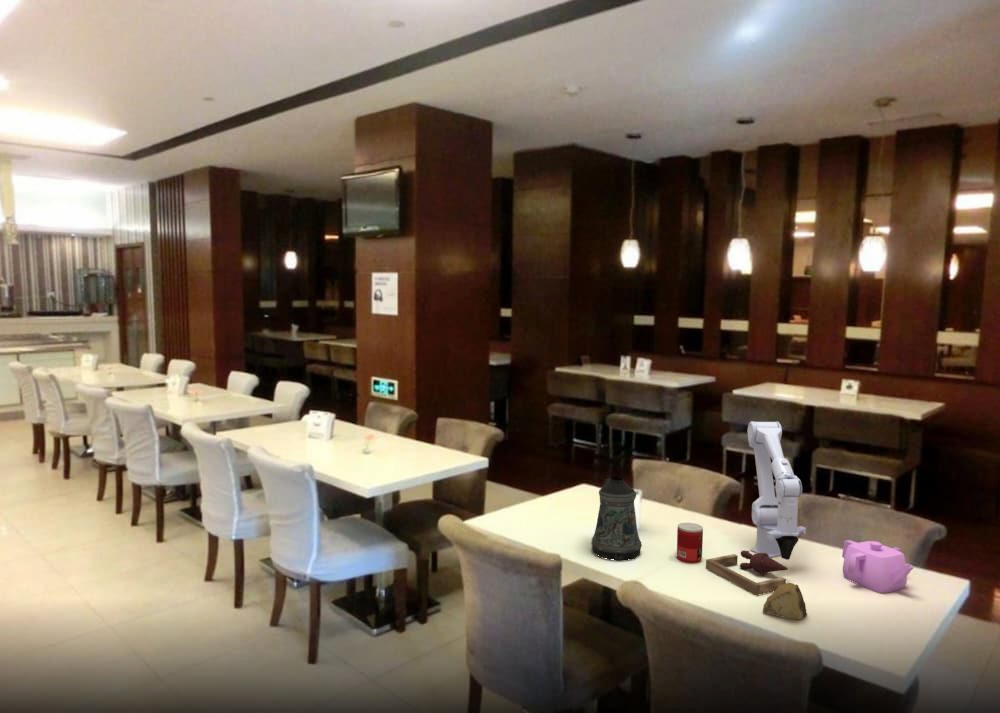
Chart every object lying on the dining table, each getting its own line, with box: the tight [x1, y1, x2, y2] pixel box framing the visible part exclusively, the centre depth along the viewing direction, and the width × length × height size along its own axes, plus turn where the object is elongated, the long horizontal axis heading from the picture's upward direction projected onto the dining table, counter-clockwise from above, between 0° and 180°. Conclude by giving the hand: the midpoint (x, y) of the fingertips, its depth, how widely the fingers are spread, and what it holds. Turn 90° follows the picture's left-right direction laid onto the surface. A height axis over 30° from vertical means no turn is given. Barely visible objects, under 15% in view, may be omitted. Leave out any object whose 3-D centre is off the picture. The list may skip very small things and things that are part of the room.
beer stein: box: [591, 475, 642, 561], centre depth 227 cm, size 16×19×25 cm
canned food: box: [676, 522, 704, 564], centre depth 220 cm, size 8×8×11 cm
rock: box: [762, 582, 808, 620], centre depth 183 cm, size 11×9×10 cm
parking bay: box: [705, 553, 787, 596], centre depth 206 cm, size 12×21×3 cm, turn 24°
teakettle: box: [841, 539, 914, 594], centre depth 203 cm, size 17×17×12 cm
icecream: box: [739, 550, 789, 576], centre depth 209 cm, size 7×7×15 cm
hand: (785, 558), depth 212 cm, fingers closed
